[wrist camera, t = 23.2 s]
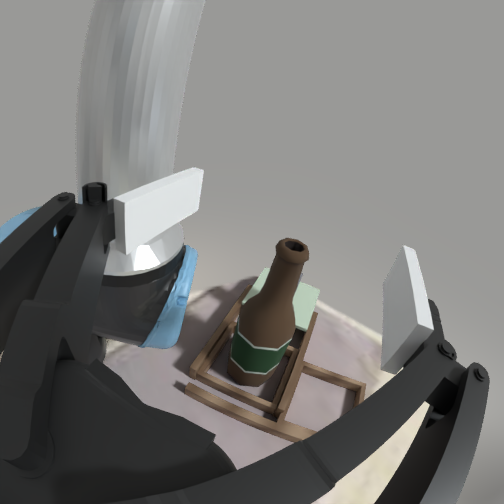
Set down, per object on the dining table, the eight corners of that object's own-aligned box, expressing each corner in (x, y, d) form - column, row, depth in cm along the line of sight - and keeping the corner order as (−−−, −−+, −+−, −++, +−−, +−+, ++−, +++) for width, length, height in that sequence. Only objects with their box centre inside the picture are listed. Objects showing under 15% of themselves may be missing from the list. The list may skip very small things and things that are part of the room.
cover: (241, 304, 50) (251, 266, 45) (264, 269, 60) (275, 234, 55) (306, 331, 47) (324, 296, 42) (319, 291, 57) (334, 258, 52)
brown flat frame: (179, 390, 36) (179, 381, 34) (245, 295, 57) (248, 284, 55) (347, 457, 30) (357, 452, 29) (366, 344, 51) (373, 335, 49)
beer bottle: (218, 354, 43) (247, 226, 30) (261, 346, 46) (305, 225, 33) (234, 394, 37) (279, 271, 24) (279, 382, 41) (343, 264, 28)
